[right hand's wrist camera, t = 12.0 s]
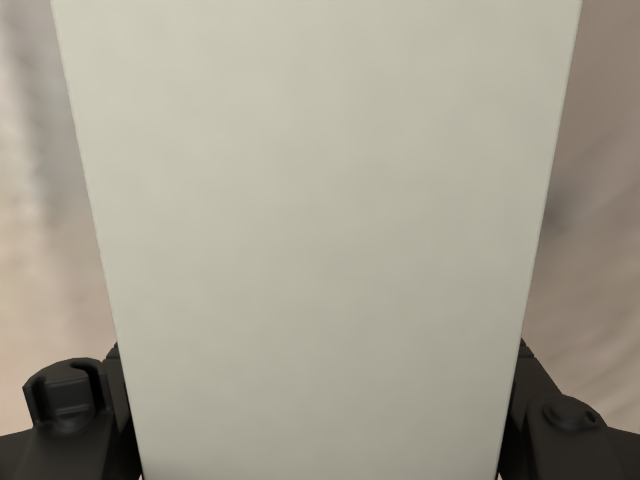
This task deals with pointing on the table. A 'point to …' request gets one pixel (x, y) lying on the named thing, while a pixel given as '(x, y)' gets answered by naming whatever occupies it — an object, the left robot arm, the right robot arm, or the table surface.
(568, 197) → the table surface
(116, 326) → the post
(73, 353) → the table surface
